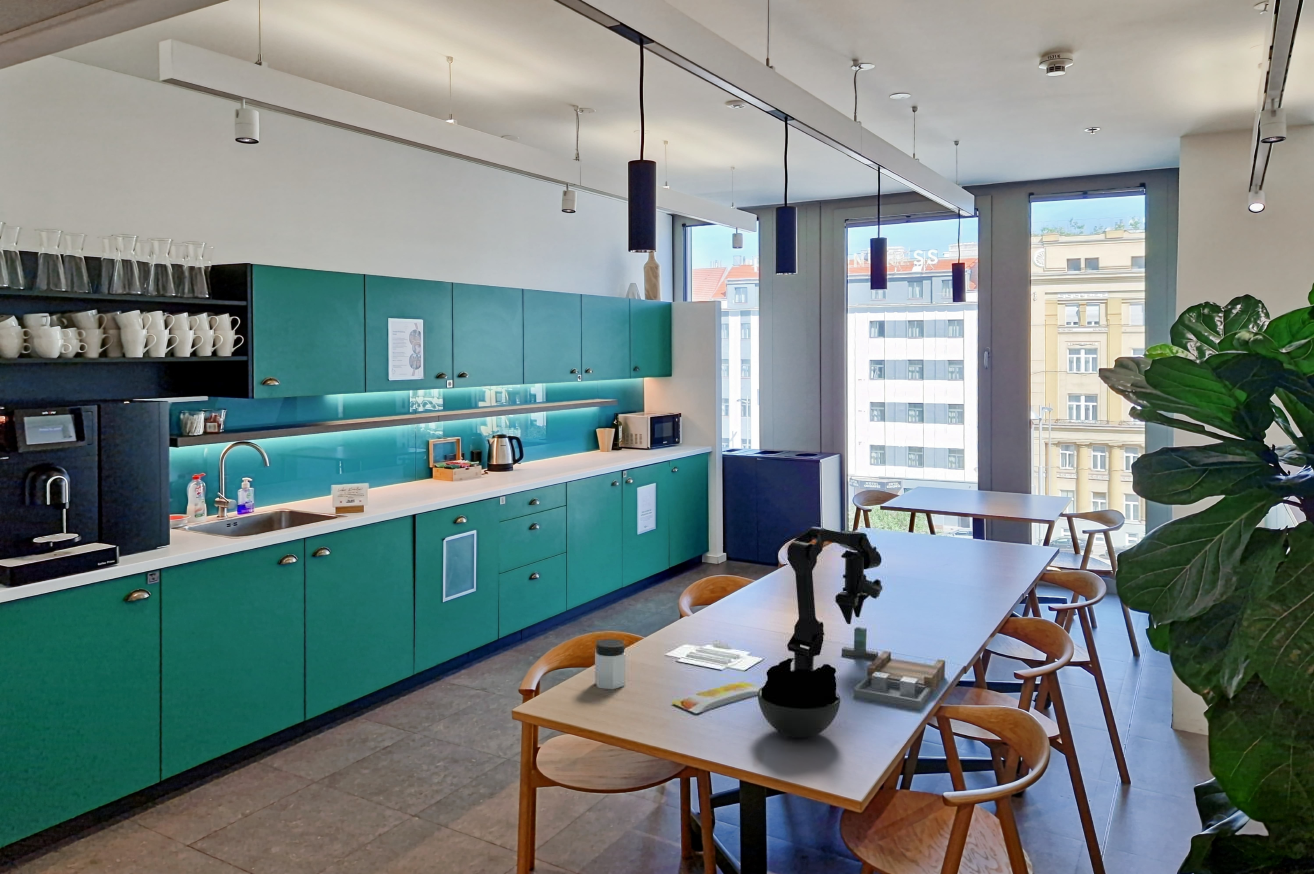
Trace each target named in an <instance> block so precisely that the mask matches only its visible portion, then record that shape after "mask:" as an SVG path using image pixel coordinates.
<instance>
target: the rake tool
mask: <svg viewBox="0 0 1314 874" xmlns="http://www.w3.org/2000/svg"><path fill="white" fill-rule="evenodd" d="M867 629H868V628H867V627H862V626H856V627H855V628H854V629H853V630H854V632H853V634H854V635H853V647H850V646H849V647H848V646H843V647H842V648H841V656H842V657H846V658H853V659H859V660H865V661H871V662H873V661H874V660H875V659H876V658H877V657H879V652H878V651H874V650H873V651H872V650H867V631H868V630H867Z"/></svg>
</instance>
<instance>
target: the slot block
mask: <svg viewBox="0 0 1314 874" xmlns="http://www.w3.org/2000/svg"><path fill="white" fill-rule="evenodd" d="M866 672H867V675H866V676H871V677H872V675H873V674H874V673H875V672H881V673H887V674H890V680H894V681H900V680H901V679H902V678H903V677H910V678H916V679H918V685H923V686H929V687H931V696H932V694H933V693H934V692H935V691H936V690H937V688H939V686H940V684H941V682H943V680H944V679H945V676H946V674H945V672H946V660H944V659H937V660H936V661H935V663H934V664H927V663H923V662H922V663H921V662H915V661H908V660H903V659H896V658H892V651H887V650H884V651H883V652H882V653H880V654H879V655H878V657H877V658H876V659H875V660H874V661H871V663H870V664H869V665H868V666H867V671H866Z"/></svg>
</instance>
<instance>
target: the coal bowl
mask: <svg viewBox="0 0 1314 874" xmlns="http://www.w3.org/2000/svg"><path fill="white" fill-rule="evenodd" d="M792 662H794V657H793V658H792V657H789V658H787V659H785V660H782V661H781V662H780V661H779V663H778V664H776V665H773V666H771V667H769V669H768V670H767V671H766V678H767V679H766V681H765V684H764V685H763V686H762V687H759V688H760V689H759V691H758V695H757V701H758V706H759V708H760V711H761V713H762V715H763V717H764V719H765V720H766V721H767V723H769V725H770V726H771V727H772V728H773V729H775V730H776V731H778V732H779V733H781V734H782V735H785V736H788V737H790V738H791V737H792V738H795V739H796V738H797V739H802V738H803V739H805V738H809V737H813V736H816V735H819V734H820V733H822V732H823V731H825V730H826V729H827V728H829V726H831V724H832V723H833V722H834V720H835V719H836V716H837V714H838V712H839V709H840V706H841V696H840V695H839V693H838V692H837V678H836V672H837V669H836V668H835V667H833V666H832V665H831V664H829V663H824V664H822V666H819V667H817V668H816V669H814V671H810V670H806V669H797V670H795V671H792Z"/></svg>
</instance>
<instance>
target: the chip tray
mask: <svg viewBox="0 0 1314 874" xmlns="http://www.w3.org/2000/svg"><path fill="white" fill-rule="evenodd" d="M871 679H872V677H871V676H867V675H866V676H865V677H864V678H863V679H862V680H861V681H860V682H859V683H858V684H857V685H856V686H855V687H854V688H853V692H852V693H853V695H852V696H853V697H852V698H853V699H855V700H856V699H857V700H861V701H865V702H866V701H867V702H871V703H872V702H874V703H878V704H884V705H888V706H889V705H890V706H894V707H901V708H904V709H911V710H915V711H921V710H922V708H923V707H924V705H925V704H926V703H927V701H928V700H929V699H930V698H931V696H932V695H931V687H929V686H923V685H918V693H917V695H916V696H915V697H909V696H904V695H900V681H894V680H889V689H888V690H887V691H886V692H882V691H876V690H871Z"/></svg>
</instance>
